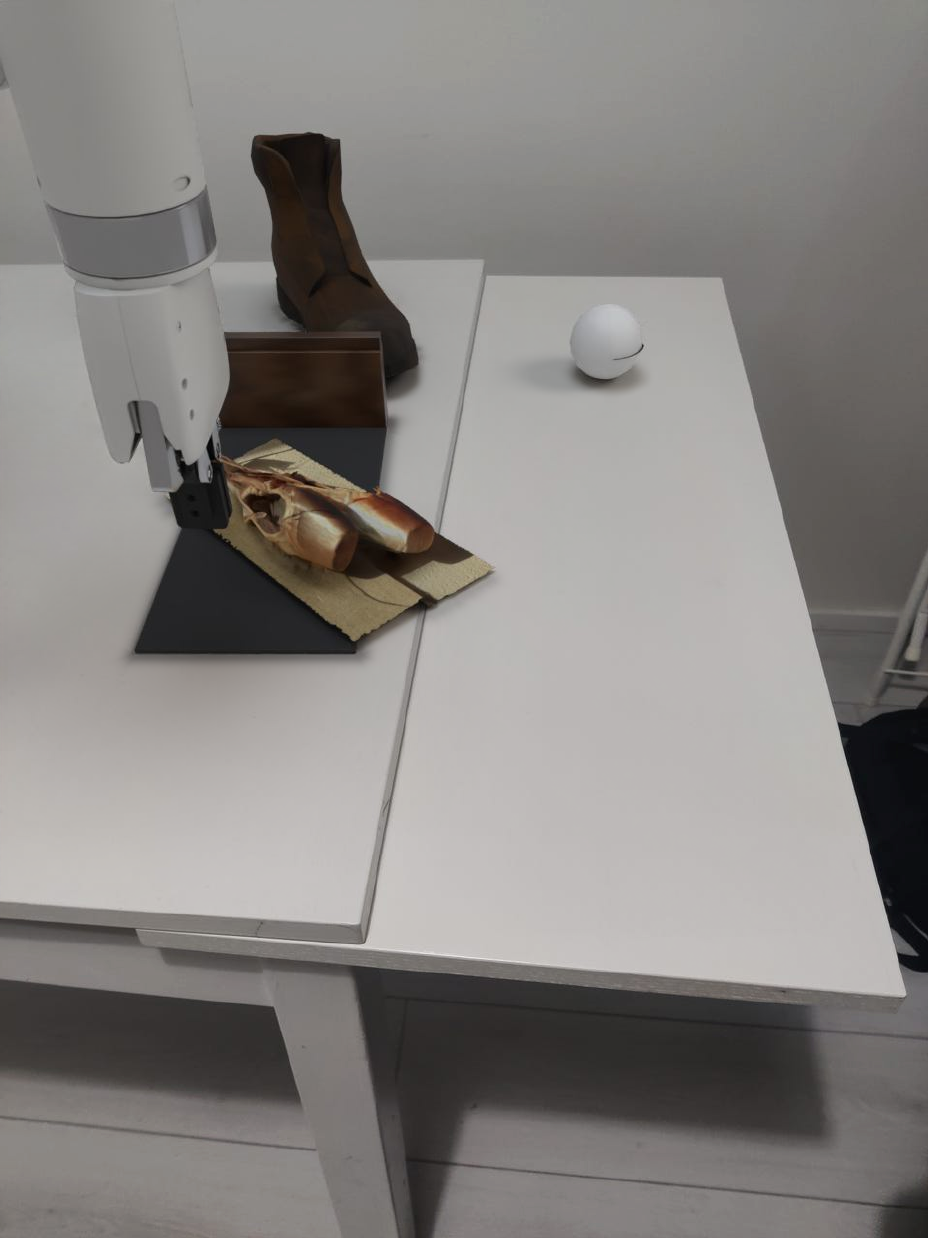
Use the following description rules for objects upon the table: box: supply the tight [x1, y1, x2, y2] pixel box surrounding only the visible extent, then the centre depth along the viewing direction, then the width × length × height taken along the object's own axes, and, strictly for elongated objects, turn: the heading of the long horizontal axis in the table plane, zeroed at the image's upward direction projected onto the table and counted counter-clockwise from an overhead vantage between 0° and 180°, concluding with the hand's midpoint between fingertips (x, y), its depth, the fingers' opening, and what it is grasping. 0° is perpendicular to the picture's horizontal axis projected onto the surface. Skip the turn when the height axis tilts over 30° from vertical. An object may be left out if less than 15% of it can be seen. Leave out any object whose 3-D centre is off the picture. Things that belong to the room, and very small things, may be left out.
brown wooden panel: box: [218, 331, 389, 429], centre depth 82 cm, size 16×2×9 cm, turn 89°
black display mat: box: [134, 427, 387, 654], centre depth 74 cm, size 16×30×1 cm, turn 179°
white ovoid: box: [569, 303, 647, 380], centre depth 89 cm, size 10×7×7 cm
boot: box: [250, 131, 420, 379], centre depth 91 cm, size 11×30×20 cm, turn 27°
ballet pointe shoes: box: [163, 439, 496, 641], centre depth 70 cm, size 14×7×28 cm
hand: (206, 520), depth 56 cm, fingers closed
